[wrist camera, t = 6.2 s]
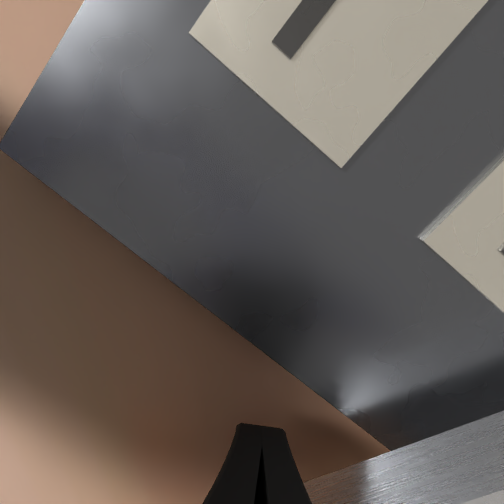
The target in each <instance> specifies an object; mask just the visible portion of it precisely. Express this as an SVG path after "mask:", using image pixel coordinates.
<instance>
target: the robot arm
mask: <svg viewBox="0 0 504 504" xmlns="http://www.w3.org/2000/svg"><path fill="white" fill-rule="evenodd" d="M203 504H312V502H311V500H310V498H309V495H308V493H307V491H306V488H305V486H304V484H303V482H302V479H301V477H300V474H299V472H298V469H297V467H296V464H295V461H294V459H293V456H292V453H291V450H290V447H289V444H288V440H287V437H286V433H285V431H284V430H283V429H281V428H274V427H266V426H259V425H252V424H244V423H240V424H239V425H237V427H236V432H235V436H234V439H233V442H232V445H231V448H230V450H229V452H228V455H227V457H226V460H225V462H224V464H223V466H222V468H221V470H220V472H219V474H218V476H217V478H216V480H215V482H214V484H213V486H212V488H211V490H210V491H209V493H208V495H207V497H206V498H205V500H204V502H203Z"/></svg>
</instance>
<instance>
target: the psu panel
mask: <svg viewBox="0 0 504 504" xmlns="http://www.w3.org/2000/svg"><path fill="white" fill-rule="evenodd" d="M0 149H1V150H2V151H3V152H4V153H6V154H7V155H8V156H10V157H11V158H12V159H13V160H15V161H16V162H17V163H19V164H20V165H21V166H23V167H24V168H25V169H26V170H28V171H29V172H30V173H32V174H33V175H34V176H36V177H37V178H38V179H39V180H41V181H42V182H43V183H45V184H46V185H47V186H48V187H50V188H51V189H52V190H54V191H55V192H56V193H58V194H59V195H60V196H61V197H63V198H64V199H65V200H67V201H68V202H69V203H71V204H72V205H73V206H74V207H76V208H77V209H78V210H80V211H81V212H82V213H83V214H85V215H86V216H87V217H89V218H90V219H91V220H93V221H94V222H95V223H96V224H98V225H99V226H100V227H102V228H103V229H104V230H106V231H107V232H108V233H109V234H111V235H112V236H113V237H115V238H116V239H117V240H118V241H120V242H121V243H122V244H124V245H125V246H126V247H128V248H129V249H130V250H131V251H133V252H134V253H135V254H137V255H138V256H139V257H141V258H142V259H143V260H144V261H146V262H147V263H148V264H150V265H151V266H152V267H154V268H155V269H156V270H157V271H159V272H160V273H161V274H163V275H164V276H165V277H166V278H168V279H169V280H170V281H172V282H173V283H174V284H176V285H177V286H178V287H179V288H181V289H182V290H183V291H185V292H186V293H187V294H189V295H190V296H191V297H192V298H194V299H195V300H196V301H198V302H199V303H200V304H201V305H203V306H204V307H205V308H207V309H208V310H209V311H211V312H212V313H213V314H214V315H216V316H217V317H218V318H220V319H221V320H222V321H224V322H225V323H226V324H227V325H229V326H230V327H231V328H233V329H234V330H235V331H236V332H238V333H239V334H240V335H242V336H243V337H244V338H246V339H247V340H248V341H249V342H251V343H252V344H253V345H255V346H256V347H257V348H259V349H260V350H261V351H262V352H264V353H265V354H266V355H268V356H269V357H270V358H271V359H273V360H274V361H275V362H277V363H278V364H279V365H281V366H282V367H283V368H284V369H286V370H287V371H288V372H290V373H291V374H292V375H294V376H295V377H296V378H297V379H299V380H300V381H301V382H303V383H304V384H305V385H306V386H308V387H309V388H310V389H312V390H313V391H314V392H316V393H317V394H318V395H319V396H321V397H322V398H323V399H325V400H326V401H327V402H329V403H330V404H331V405H332V406H334V407H335V408H336V409H338V410H339V411H340V412H342V413H343V414H344V415H345V416H347V417H348V418H349V419H351V420H352V421H353V422H354V423H356V424H357V425H358V426H360V427H361V428H362V429H364V430H365V431H366V432H367V433H369V434H370V435H371V436H373V437H374V438H375V439H377V440H378V441H379V442H380V443H382V444H383V445H384V446H386V447H387V448H388V449H389V450H391V451H393V450H396V449H398V448H401V447H404V446H407V445H409V444H412V443H415V442H418V441H421V440H423V439H426V438H429V437H432V436H434V435H437V434H440V433H443V432H446V431H448V430H451V429H454V428H457V427H460V426H462V425H465V424H468V423H471V422H473V421H476V420H479V419H482V418H485V417H487V416H490V415H493V414H496V413H498V412H501V411H504V0H85V1H84V2H83V4H82V6H81V7H80V9H79V11H78V12H77V14H76V16H75V17H74V19H73V21H72V22H71V24H70V26H69V28H68V29H67V31H66V33H65V34H64V36H63V38H62V39H61V41H60V43H59V44H58V46H57V48H56V49H55V51H54V53H53V55H52V56H51V58H50V60H49V61H48V63H47V65H46V66H45V68H44V70H43V71H42V73H41V75H40V76H39V78H38V80H37V82H36V83H35V85H34V87H33V88H32V90H31V92H30V93H29V95H28V97H27V98H26V100H25V102H24V103H23V105H22V107H21V108H20V110H19V112H18V114H17V115H16V117H15V119H14V120H13V122H12V124H11V125H10V127H9V129H8V130H7V132H6V134H5V135H4V137H3V139H2V141H1V142H0Z"/></svg>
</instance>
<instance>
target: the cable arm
mask: <svg viewBox="0 0 504 504" xmlns="http://www.w3.org/2000/svg"><path fill="white" fill-rule="evenodd" d="M303 484H304V486H305V488H306V491H307V493H308V495H309V498H310V500H311V502H312V504H504V411H501V412H498V413H496V414H493V415H490V416H487V417H485V418H482V419H479V420H476V421H473V422H471V423H468V424H465V425H462V426H460V427H457V428H454V429H451V430H448V431H446V432H443V433H440V434H437V435H434V436H432V437H429V438H426V439H423V440H421V441H418V442H415V443H412V444H409V445H407V446H404V447H401V448H398V449H396V450H393V451H390V452H387V453H384V454H382V455H379V456H376V457H373V458H371V459H368V460H365V461H362V462H359V463H357V464H354V465H351V466H348V467H345V468H343V469H340V470H337V471H334V472H332V473H329V474H326V475H323V476H320V477H318V478H315V479H312V480H309V481H307V482H304V483H303Z"/></svg>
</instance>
